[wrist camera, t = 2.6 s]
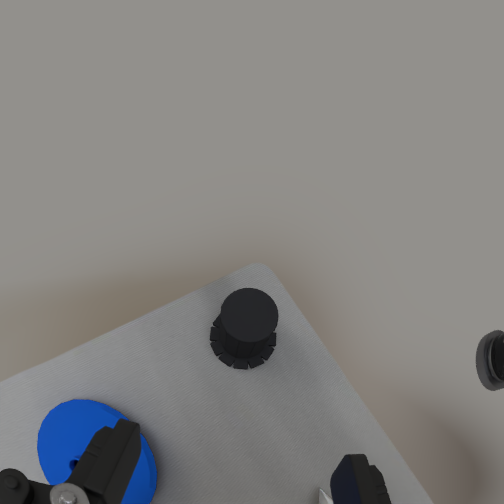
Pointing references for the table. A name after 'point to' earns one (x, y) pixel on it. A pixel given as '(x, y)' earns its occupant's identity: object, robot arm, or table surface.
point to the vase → (77, 439)
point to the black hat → (245, 328)
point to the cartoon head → (324, 498)
